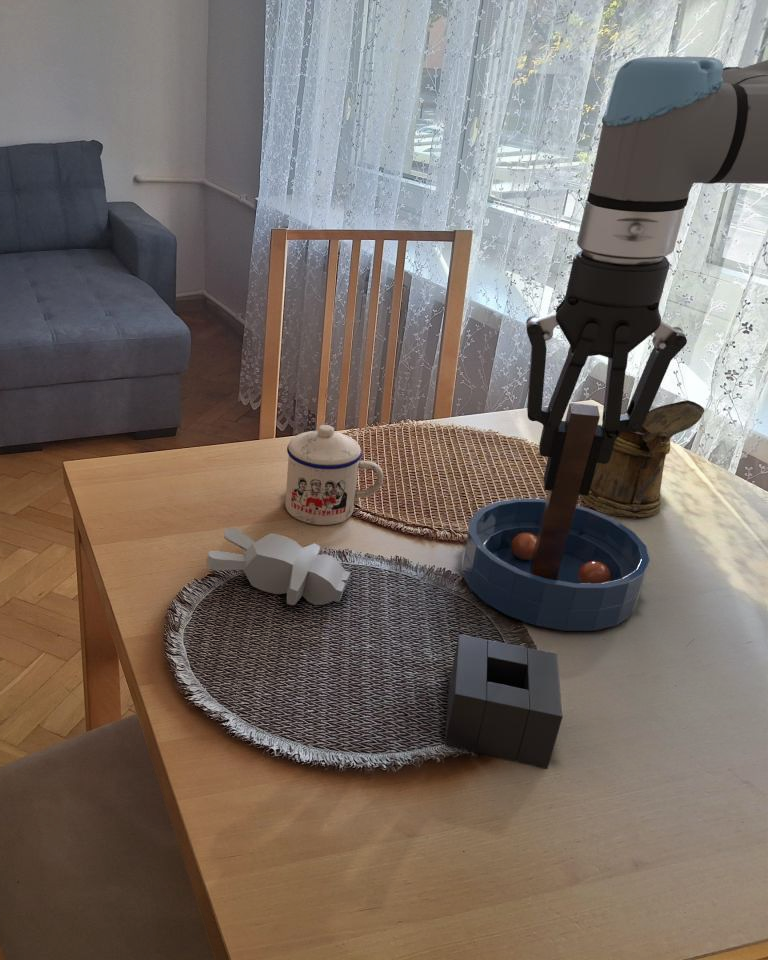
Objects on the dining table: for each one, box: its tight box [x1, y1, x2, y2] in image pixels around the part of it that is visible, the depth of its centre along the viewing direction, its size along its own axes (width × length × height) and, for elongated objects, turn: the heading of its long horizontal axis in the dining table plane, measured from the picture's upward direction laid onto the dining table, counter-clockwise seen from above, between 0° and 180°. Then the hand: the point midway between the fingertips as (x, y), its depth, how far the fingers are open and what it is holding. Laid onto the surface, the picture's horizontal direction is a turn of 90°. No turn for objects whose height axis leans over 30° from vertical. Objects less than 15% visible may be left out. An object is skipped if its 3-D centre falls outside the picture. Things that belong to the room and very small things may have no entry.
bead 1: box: [511, 532, 537, 560], centre depth 98 cm, size 3×3×3 cm
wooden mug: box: [579, 399, 706, 519], centre depth 104 cm, size 9×14×18 cm, turn 172°
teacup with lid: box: [284, 424, 384, 526], centre depth 108 cm, size 12×9×12 cm
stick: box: [530, 402, 601, 580], centre depth 87 cm, size 2×2×20 cm
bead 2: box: [578, 561, 611, 583], centre depth 93 cm, size 3×3×3 cm
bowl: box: [461, 497, 651, 632], centre depth 94 cm, size 18×18×6 cm
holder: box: [444, 634, 564, 769], centre depth 76 cm, size 8×8×6 cm
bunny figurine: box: [205, 526, 351, 606], centre depth 96 cm, size 10×5×15 cm
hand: (565, 486), depth 87 cm, fingers closed on stick, 2 cm apart
